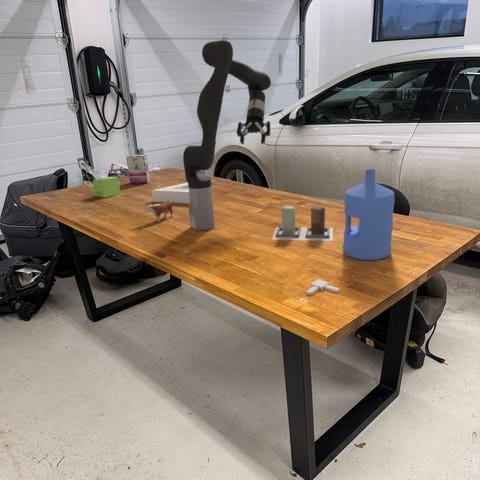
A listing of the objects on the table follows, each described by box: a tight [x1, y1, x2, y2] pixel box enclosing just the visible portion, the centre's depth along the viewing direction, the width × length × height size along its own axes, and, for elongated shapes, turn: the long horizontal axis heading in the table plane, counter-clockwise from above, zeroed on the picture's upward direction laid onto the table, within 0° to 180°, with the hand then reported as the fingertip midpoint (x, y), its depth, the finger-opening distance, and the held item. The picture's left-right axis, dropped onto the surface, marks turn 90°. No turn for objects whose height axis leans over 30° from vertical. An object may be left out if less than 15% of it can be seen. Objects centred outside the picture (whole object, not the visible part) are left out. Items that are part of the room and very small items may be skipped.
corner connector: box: [306, 278, 340, 296], centre depth 128 cm, size 8×8×2 cm
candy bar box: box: [126, 154, 151, 185], centre depth 269 cm, size 11×5×16 cm, turn 80°
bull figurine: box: [145, 201, 174, 223], centre depth 199 cm, size 4×13×8 cm, turn 137°
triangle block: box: [151, 182, 190, 205], centre depth 235 cm, size 30×26×6 cm
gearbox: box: [89, 176, 121, 198], centre depth 247 cm, size 18×10×10 cm, turn 142°
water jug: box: [342, 168, 395, 261], centre depth 148 cm, size 16×16×28 cm
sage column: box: [281, 205, 296, 234], centre depth 170 cm, size 5×5×10 cm
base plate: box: [271, 226, 334, 242], centre depth 171 cm, size 22×14×2 cm, turn 78°
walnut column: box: [310, 205, 326, 235], centre depth 168 cm, size 5×5×10 cm
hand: (252, 143), depth 192 cm, fingers open, 8 cm apart
